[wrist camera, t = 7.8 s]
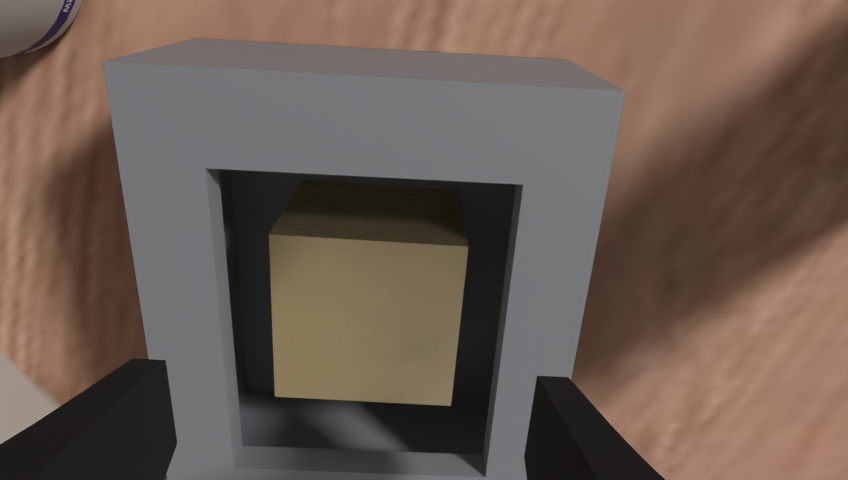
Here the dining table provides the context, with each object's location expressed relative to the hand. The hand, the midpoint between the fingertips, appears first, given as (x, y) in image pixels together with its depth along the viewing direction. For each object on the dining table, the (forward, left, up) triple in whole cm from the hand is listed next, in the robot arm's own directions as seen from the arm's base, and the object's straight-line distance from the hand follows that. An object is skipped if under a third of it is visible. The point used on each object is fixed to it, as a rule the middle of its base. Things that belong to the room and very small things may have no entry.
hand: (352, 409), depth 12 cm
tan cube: (0, 0, -7) cm, 7 cm away
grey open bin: (0, 0, -7) cm, 7 cm away
